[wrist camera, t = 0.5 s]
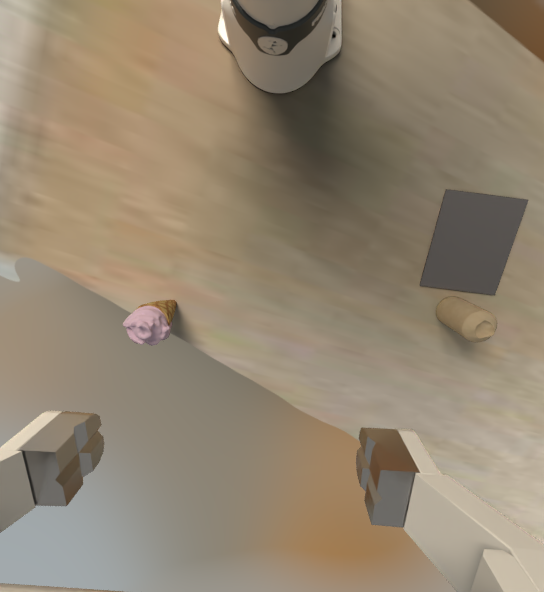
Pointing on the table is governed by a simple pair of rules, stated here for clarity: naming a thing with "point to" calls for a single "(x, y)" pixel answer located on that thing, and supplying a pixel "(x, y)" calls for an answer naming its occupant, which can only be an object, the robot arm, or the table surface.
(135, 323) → the ice cream cone
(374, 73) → the table surface
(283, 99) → the table surface
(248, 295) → the table surface
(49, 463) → the robot arm
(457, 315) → the candle
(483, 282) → the mat
